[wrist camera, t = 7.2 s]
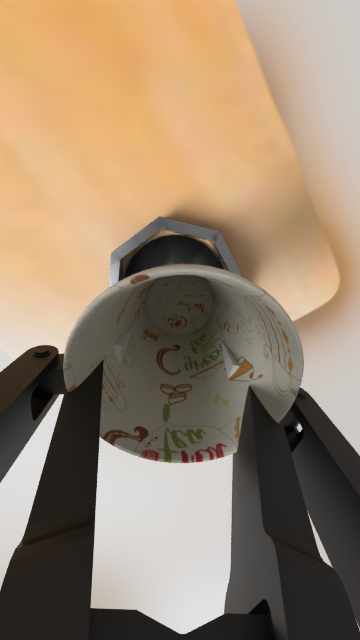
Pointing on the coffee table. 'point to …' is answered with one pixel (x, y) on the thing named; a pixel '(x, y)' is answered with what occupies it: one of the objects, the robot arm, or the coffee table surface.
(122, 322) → the mug
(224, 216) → the coffee table surface
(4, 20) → the coffee table surface
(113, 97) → the coffee table surface
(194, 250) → the gray octagonal container
